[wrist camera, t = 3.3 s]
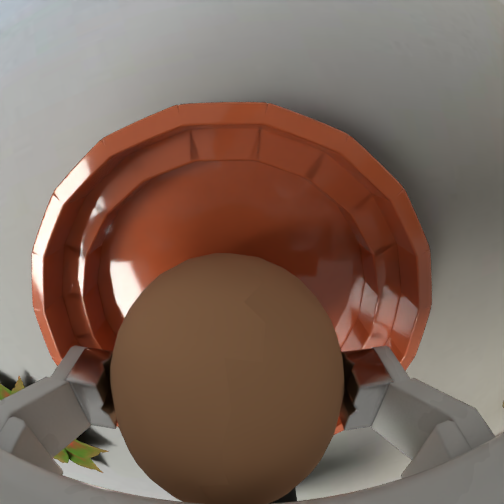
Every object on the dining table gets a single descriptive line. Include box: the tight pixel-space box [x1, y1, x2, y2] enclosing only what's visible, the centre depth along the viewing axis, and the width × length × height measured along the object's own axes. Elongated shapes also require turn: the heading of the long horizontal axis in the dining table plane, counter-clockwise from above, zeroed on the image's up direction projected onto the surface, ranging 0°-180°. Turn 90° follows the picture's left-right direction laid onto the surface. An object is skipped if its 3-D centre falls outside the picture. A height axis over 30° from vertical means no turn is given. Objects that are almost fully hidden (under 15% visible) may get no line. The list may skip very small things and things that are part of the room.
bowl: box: [32, 102, 432, 435], centre depth 11 cm, size 14×14×4 cm
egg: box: [110, 253, 344, 504], centre depth 8 cm, size 6×6×8 cm
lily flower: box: [0, 376, 109, 473], centre depth 14 cm, size 12×12×5 cm
